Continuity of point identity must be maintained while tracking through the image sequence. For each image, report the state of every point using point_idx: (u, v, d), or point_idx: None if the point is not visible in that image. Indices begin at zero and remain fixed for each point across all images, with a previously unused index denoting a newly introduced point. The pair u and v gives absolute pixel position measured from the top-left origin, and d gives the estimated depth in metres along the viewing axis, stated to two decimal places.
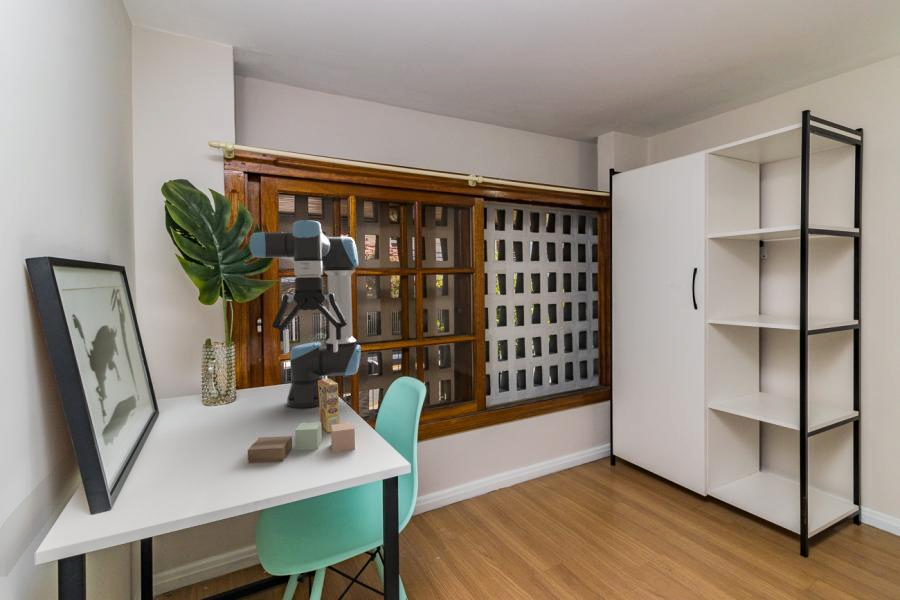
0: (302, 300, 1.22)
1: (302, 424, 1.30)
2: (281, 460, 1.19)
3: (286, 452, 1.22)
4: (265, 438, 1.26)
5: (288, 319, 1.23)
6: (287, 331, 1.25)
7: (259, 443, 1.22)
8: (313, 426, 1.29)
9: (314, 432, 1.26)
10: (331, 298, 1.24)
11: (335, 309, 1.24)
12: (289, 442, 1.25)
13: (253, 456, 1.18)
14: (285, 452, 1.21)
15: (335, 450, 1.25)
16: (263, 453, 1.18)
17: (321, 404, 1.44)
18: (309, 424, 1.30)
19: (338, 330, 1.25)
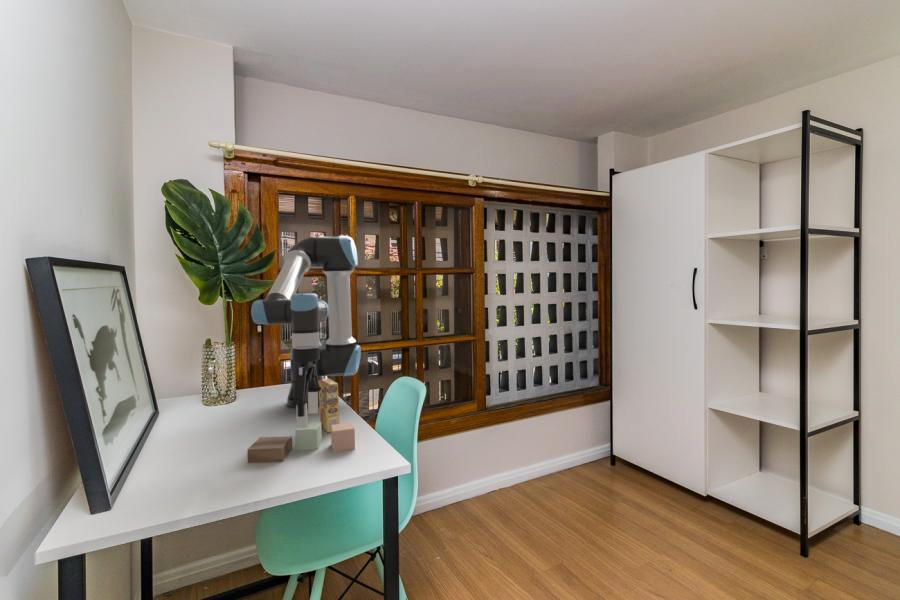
0: None
1: None
2: (280, 460, 1.18)
3: (286, 452, 1.22)
4: (266, 438, 1.26)
5: None
6: (313, 393, 1.35)
7: (260, 443, 1.22)
8: (313, 426, 1.29)
9: (315, 432, 1.26)
10: None
11: None
12: (289, 442, 1.25)
13: (253, 456, 1.18)
14: (285, 452, 1.21)
15: (335, 450, 1.25)
16: (262, 453, 1.18)
17: (321, 404, 1.44)
18: (309, 424, 1.30)
19: None
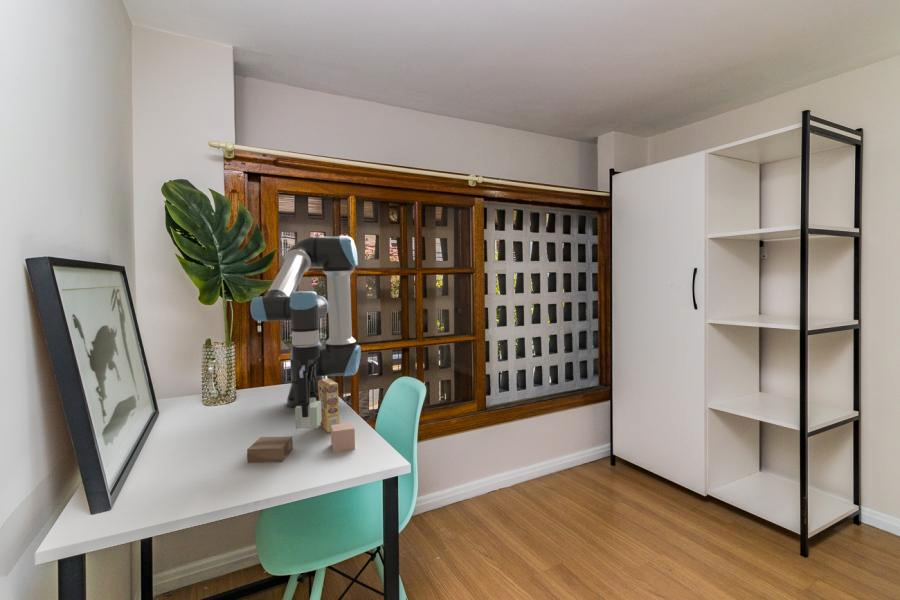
0: None
1: None
2: (280, 460, 1.18)
3: (285, 452, 1.22)
4: (266, 438, 1.26)
5: None
6: (311, 399, 1.32)
7: (260, 443, 1.22)
8: (312, 404, 1.29)
9: (314, 411, 1.27)
10: None
11: None
12: (289, 442, 1.25)
13: (252, 456, 1.18)
14: (285, 452, 1.21)
15: (335, 450, 1.25)
16: (262, 453, 1.18)
17: (321, 404, 1.44)
18: None
19: None
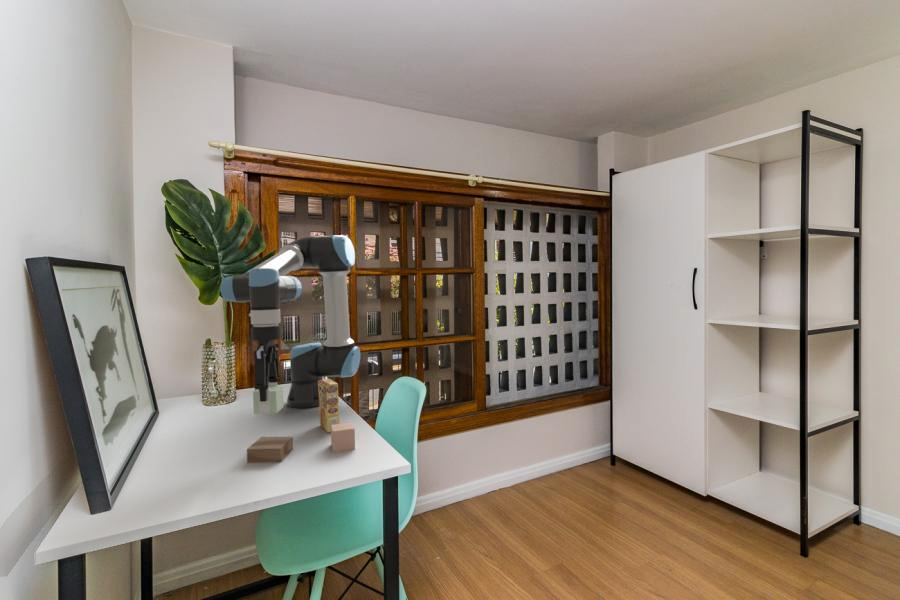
0: None
1: None
2: (279, 461, 1.18)
3: (285, 453, 1.22)
4: (267, 437, 1.26)
5: None
6: (272, 384, 1.25)
7: (260, 443, 1.22)
8: (273, 388, 1.21)
9: (274, 395, 1.19)
10: None
11: None
12: (289, 442, 1.25)
13: (252, 455, 1.18)
14: (284, 453, 1.21)
15: (335, 450, 1.25)
16: (262, 453, 1.18)
17: (321, 404, 1.44)
18: (269, 387, 1.23)
19: None
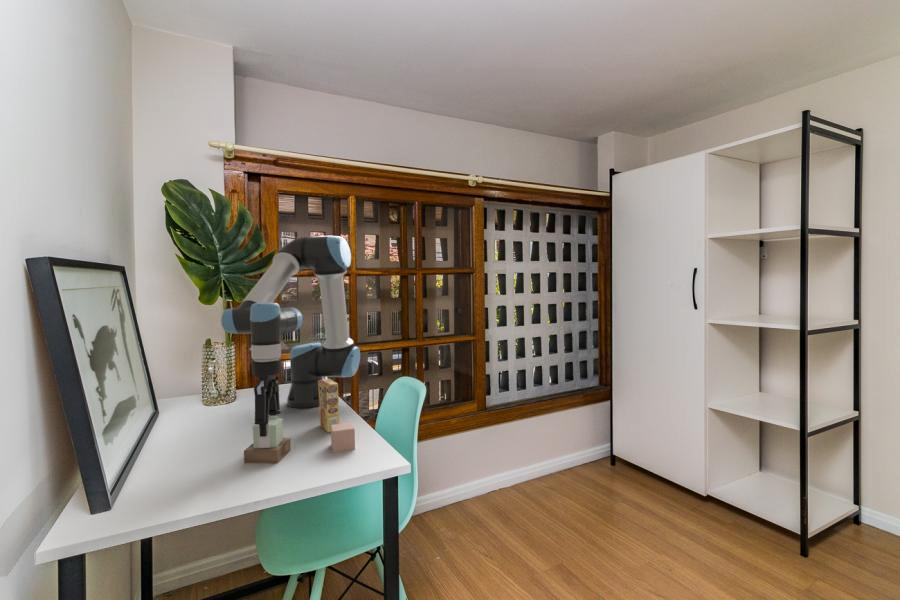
0: None
1: None
2: (276, 462, 1.18)
3: (282, 454, 1.21)
4: None
5: None
6: (272, 418, 1.25)
7: None
8: (272, 422, 1.22)
9: (273, 429, 1.19)
10: None
11: None
12: (287, 444, 1.24)
13: (249, 457, 1.18)
14: (281, 454, 1.20)
15: (335, 450, 1.25)
16: (258, 455, 1.18)
17: (321, 404, 1.44)
18: (269, 420, 1.23)
19: None
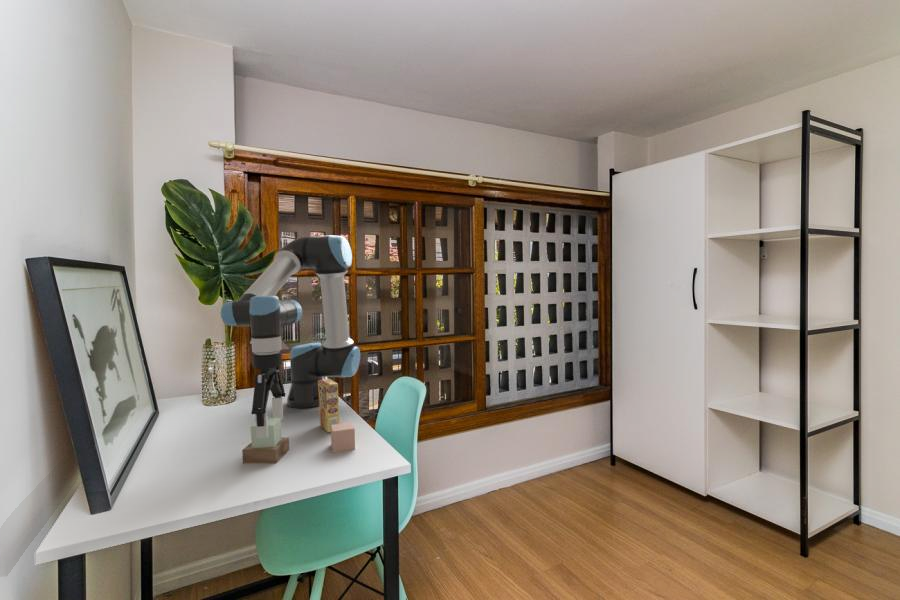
0: None
1: None
2: (274, 462, 1.18)
3: (281, 453, 1.21)
4: None
5: None
6: (277, 400, 1.29)
7: None
8: (270, 422, 1.21)
9: (271, 429, 1.19)
10: None
11: None
12: (285, 443, 1.24)
13: (248, 456, 1.18)
14: (280, 454, 1.20)
15: (335, 450, 1.25)
16: (257, 454, 1.18)
17: (321, 404, 1.44)
18: None
19: None
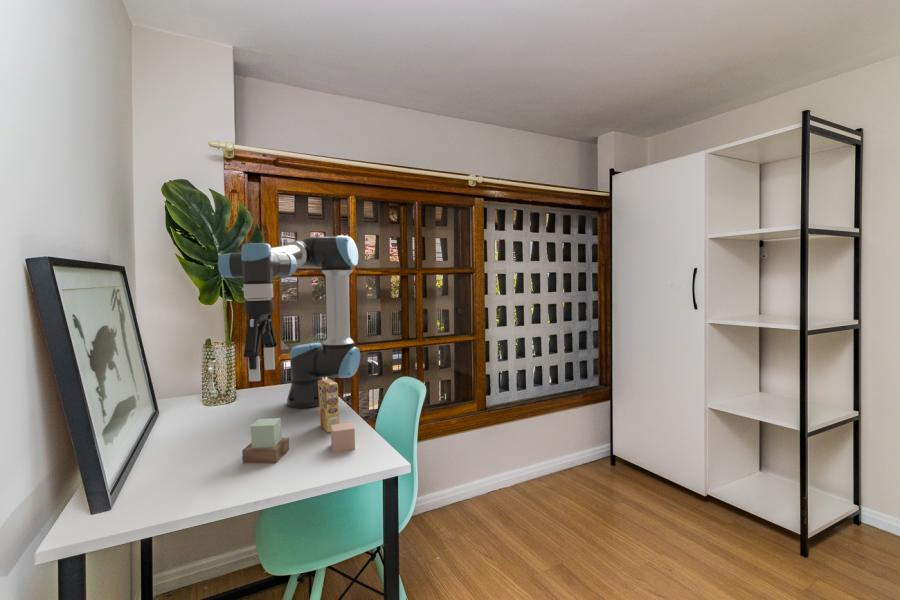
0: None
1: (259, 420, 1.23)
2: (274, 462, 1.18)
3: (281, 454, 1.21)
4: None
5: None
6: (269, 349, 1.30)
7: None
8: (270, 422, 1.22)
9: (271, 429, 1.19)
10: None
11: None
12: (285, 444, 1.24)
13: (247, 456, 1.18)
14: (280, 454, 1.20)
15: (335, 450, 1.25)
16: (257, 454, 1.18)
17: (321, 404, 1.44)
18: (267, 420, 1.23)
19: None
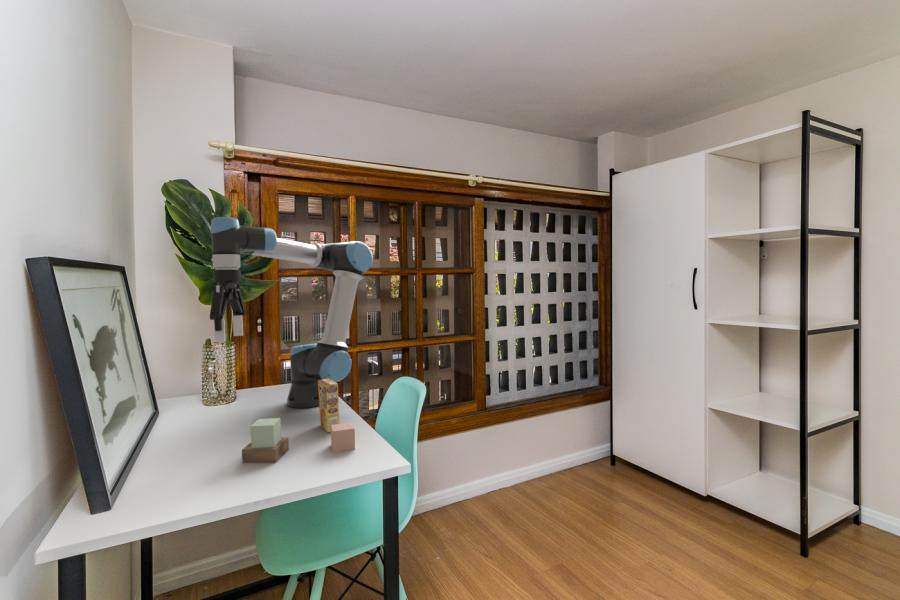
0: None
1: (259, 420, 1.23)
2: (274, 461, 1.18)
3: (280, 453, 1.21)
4: None
5: None
6: (237, 317, 1.42)
7: None
8: (270, 422, 1.21)
9: (271, 429, 1.19)
10: None
11: None
12: (285, 443, 1.24)
13: (247, 456, 1.18)
14: (279, 453, 1.21)
15: (335, 450, 1.25)
16: (256, 454, 1.18)
17: (321, 404, 1.44)
18: (267, 420, 1.23)
19: None
